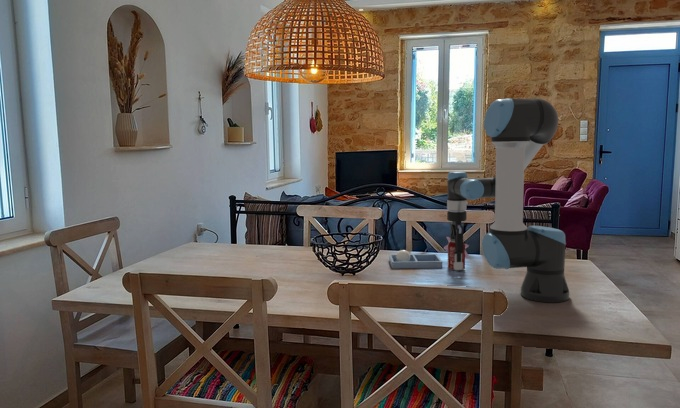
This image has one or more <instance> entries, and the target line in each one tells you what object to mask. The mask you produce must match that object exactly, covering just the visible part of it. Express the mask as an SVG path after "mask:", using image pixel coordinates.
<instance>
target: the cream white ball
mask: <svg viewBox="0 0 680 408" xmlns="http://www.w3.org/2000/svg"><path fill="white" fill-rule="evenodd" d="M395 255H396V259H397V261H398V262H409V261H410V258H411V257H410V252H409V251H408V250H406V249H400V250H398V251H397V253H396V254H395Z"/></svg>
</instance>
